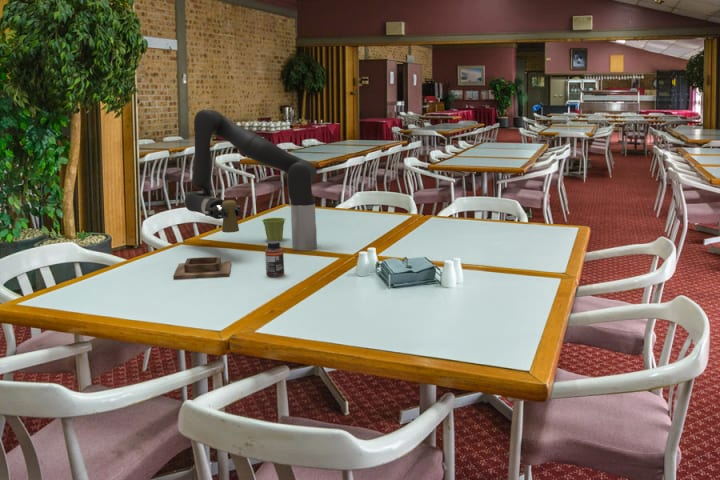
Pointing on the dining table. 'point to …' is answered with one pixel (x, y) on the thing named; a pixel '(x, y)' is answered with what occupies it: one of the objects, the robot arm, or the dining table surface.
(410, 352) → the dining table surface
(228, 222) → the cork
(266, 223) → the plant pot
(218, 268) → the condiment stand
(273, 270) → the supplement bottle
